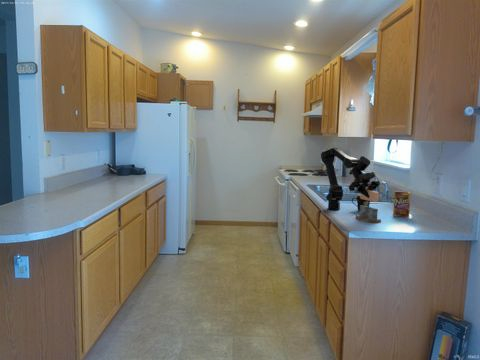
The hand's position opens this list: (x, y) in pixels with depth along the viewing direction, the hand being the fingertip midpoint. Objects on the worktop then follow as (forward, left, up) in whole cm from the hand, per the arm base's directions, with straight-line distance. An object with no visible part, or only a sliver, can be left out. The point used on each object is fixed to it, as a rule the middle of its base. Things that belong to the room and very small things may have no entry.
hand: (370, 197), depth 218 cm
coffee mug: (-14, +25, -14) cm, 32 cm away
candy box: (+11, +25, -14) cm, 30 cm away
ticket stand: (-1, +1, -13) cm, 13 cm away
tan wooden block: (-1, +1, -2) cm, 2 cm away
